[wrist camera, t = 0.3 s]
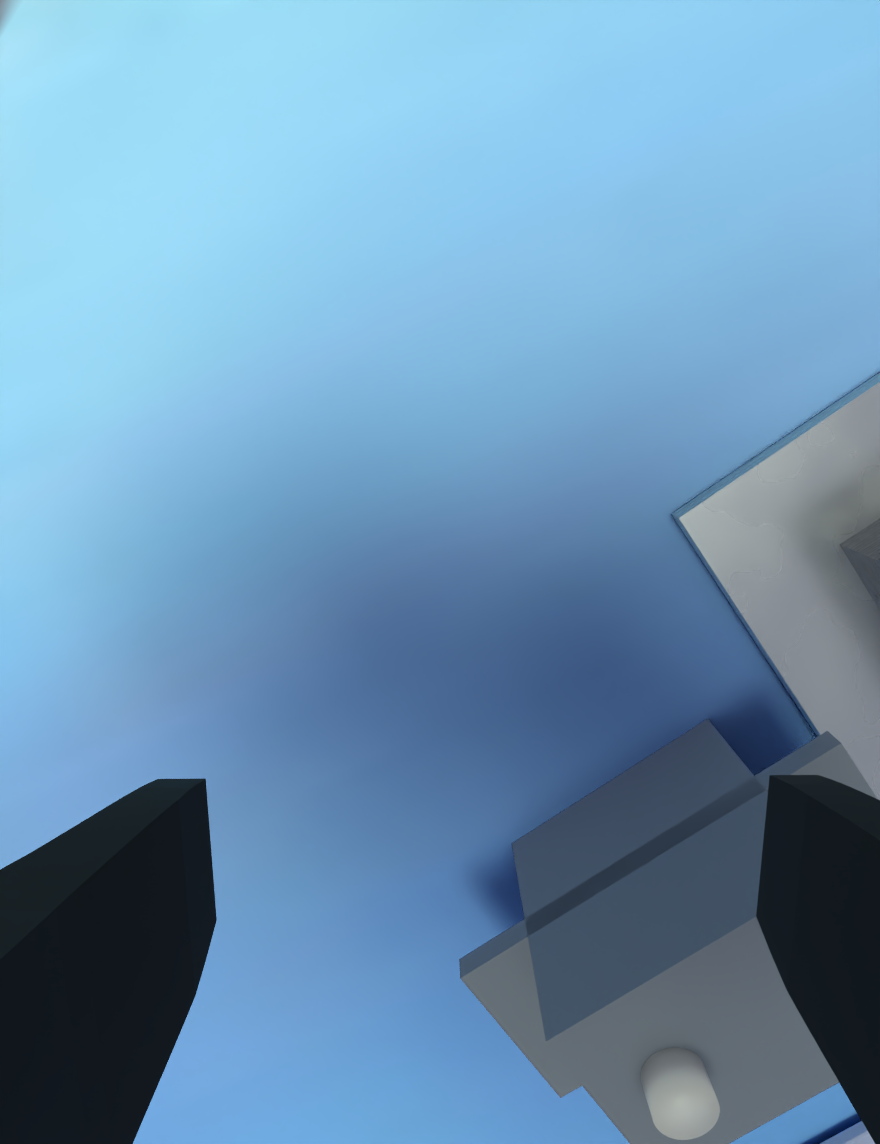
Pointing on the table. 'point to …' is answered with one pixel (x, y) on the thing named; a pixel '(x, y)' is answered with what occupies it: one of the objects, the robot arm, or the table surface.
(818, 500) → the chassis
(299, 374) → the table surface
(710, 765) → the servo
